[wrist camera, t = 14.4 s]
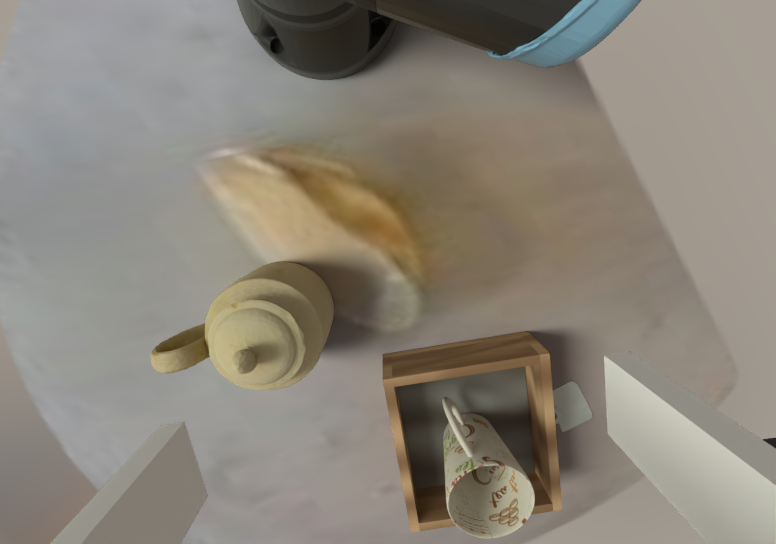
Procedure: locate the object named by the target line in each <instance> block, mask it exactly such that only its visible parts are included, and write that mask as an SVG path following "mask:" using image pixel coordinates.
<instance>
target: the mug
mask: <svg viewBox="0 0 776 544" xmlns="http://www.w3.org/2000/svg"><path fill="white" fill-rule="evenodd" d="M442 403H443V408H444V411H445V413H446V416H447V418H448V421H449V423H448V424H447V426H446V428H445V430H444V435H443V445H444V467H445V488H446V504H447V509H448V513H449V515H450V517H451V519H452V521H453V522H454V524H455V525H456V526H457V527H458V528H459V529H461V530H462V531H464V532H465V533H467V534H469V535H472V536H475V537H479V538H497V537H502V536H505V535H508V534H510V533H512V532H514V531H515V530H517V529H518V528H520V527H521V526H522V525H523V524H524V523H525V522H526V521H527V520H528V518H529V517H530V515H531V513H532V511H533V508H534V503H535V494H534V489H533V486H532V484H531V482H530V480H529V478H528V476H527V475H526V473H525V472H524V471H523V469H522V468H521V466H520V465H519V463H518V462H517V461H516V459H515V458H514V456H513V455H512V453H511V452H510V451H509V449H508V448H507V446H506V445H505V443H504V442H503V441H502V439H501V438H500V436H499V435H498V434H497V432H496V431H495V429H494V428H493V426H492V425H491V424H490V422H489V421H488V420H487V419H485V418H484V417H482V416H481V415H478V414H474V413H466V414H460V412H459V410H458V408H457V406H456V404H455V402H454V401H452V400H451V399H450V398H448V397H444V398H443V399H442ZM454 415H455V416H454Z"/></svg>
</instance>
